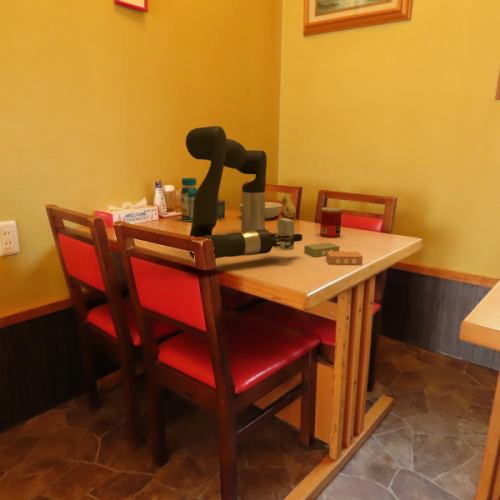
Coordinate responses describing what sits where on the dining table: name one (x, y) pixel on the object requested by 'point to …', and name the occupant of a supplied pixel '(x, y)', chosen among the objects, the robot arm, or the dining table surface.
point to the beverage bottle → (188, 198)
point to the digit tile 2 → (320, 249)
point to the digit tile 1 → (286, 228)
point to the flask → (220, 209)
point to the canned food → (330, 222)
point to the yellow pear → (288, 209)
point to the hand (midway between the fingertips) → (300, 237)
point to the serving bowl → (270, 209)
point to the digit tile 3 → (344, 258)
